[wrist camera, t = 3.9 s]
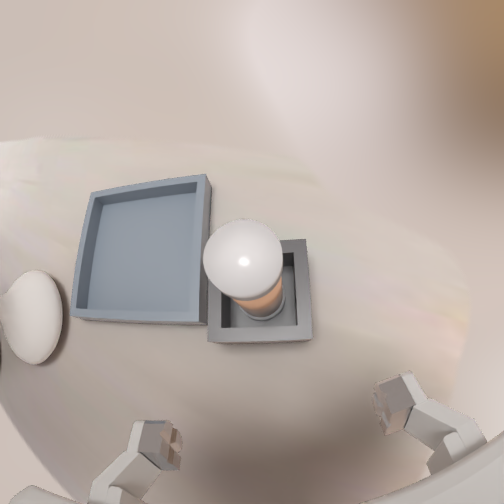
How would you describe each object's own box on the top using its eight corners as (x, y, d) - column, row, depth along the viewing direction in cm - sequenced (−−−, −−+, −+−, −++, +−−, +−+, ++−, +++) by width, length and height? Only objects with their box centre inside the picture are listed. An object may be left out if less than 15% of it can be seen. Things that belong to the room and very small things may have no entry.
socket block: (221, 343, 24) (207, 341, 20) (221, 262, 26) (209, 244, 22) (308, 341, 23) (312, 338, 19) (303, 258, 26) (305, 238, 21)
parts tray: (84, 319, 26) (69, 315, 24) (102, 202, 31) (91, 192, 29) (207, 324, 25) (198, 321, 22) (211, 187, 29) (205, 173, 27)
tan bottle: (239, 321, 23) (201, 296, 13) (239, 277, 25) (204, 221, 14) (285, 320, 23) (284, 293, 13) (284, 275, 24) (280, 216, 14)
